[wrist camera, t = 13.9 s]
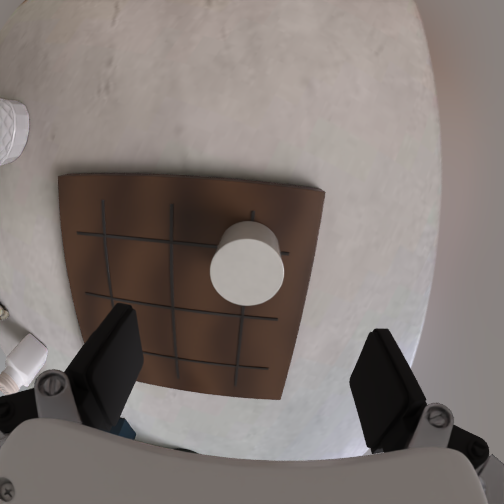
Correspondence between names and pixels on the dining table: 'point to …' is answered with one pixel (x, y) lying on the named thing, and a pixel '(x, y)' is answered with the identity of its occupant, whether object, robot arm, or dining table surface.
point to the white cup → (12, 129)
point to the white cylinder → (247, 264)
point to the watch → (122, 429)
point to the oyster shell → (3, 314)
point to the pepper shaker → (23, 364)
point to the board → (188, 273)
